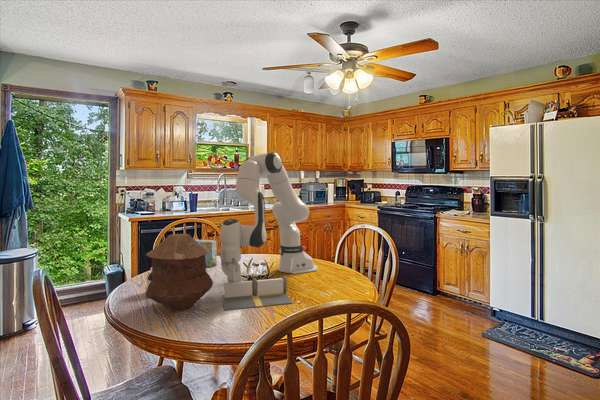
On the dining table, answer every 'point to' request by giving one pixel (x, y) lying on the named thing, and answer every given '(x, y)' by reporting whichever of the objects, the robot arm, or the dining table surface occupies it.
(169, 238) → the pottery vessel
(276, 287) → the block
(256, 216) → the robot arm
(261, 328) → the dining table surface
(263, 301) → the card
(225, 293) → the hinged panel
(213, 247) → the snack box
